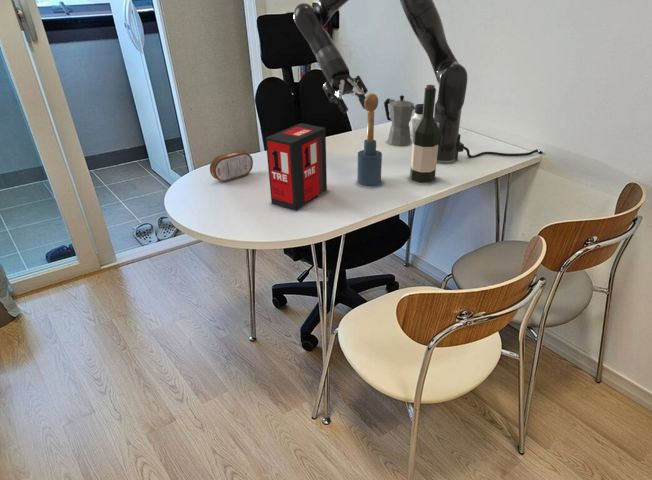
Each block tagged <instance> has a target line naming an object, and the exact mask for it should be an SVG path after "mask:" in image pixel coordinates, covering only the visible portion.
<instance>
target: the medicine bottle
mask: <svg viewBox="0 0 652 480" xmlns="http://www.w3.org/2000/svg"><path fill="white" fill-rule="evenodd" d="M423 104H424V102H422V103H421V102H420V103H417V104H415V105H414V106H415V109H414V114H413V115H412V117H411V128H410V137H413V131H414V127H415V126H416V125H417V123H418V122H419V120H420V119H421V117H422V115H423Z"/></svg>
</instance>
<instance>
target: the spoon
mask: <svg viewBox="0 0 652 480" xmlns="http://www.w3.org/2000/svg"><path fill="white" fill-rule="evenodd" d="M365 97H366V98H365V101H364V107H365V109H364V110H365V111H366V112H367V121H366V123H367V124H366V125H367V127H366V128H367V129H366V140H367V142H370V143H371V142H373V140H374V135H375V134H374V132H375V111H376V110H377V108H378V106H379V98H378V97H379V96H377V94H375V93H369V94H367V95H366V96H365Z"/></svg>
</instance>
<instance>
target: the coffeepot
mask: <svg viewBox="0 0 652 480" xmlns="http://www.w3.org/2000/svg"><path fill="white" fill-rule="evenodd" d="M399 99H400V100H395V99H391V98H389V97H388V98H386V100H385V101H384V102H383V106H384V111H385V116H386V120H387V121H388V122H391V125H390V129H389V133H388V137H387V143H388V144H389V145H392V146H395V147H406V146H409V145H410V144H411V143H412V138H411V137H412V136H411V126H410V122H411V121H412V117H413V111H415V106H416V105H415V104H414V103H413V102H411V101H408V100H405V96H404V95H403V94H401V95H400V96H399Z"/></svg>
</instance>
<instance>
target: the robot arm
mask: <svg viewBox="0 0 652 480" xmlns="http://www.w3.org/2000/svg"><path fill="white" fill-rule="evenodd" d="M349 1H350V0H318V2H317V3H316V4H315V5H314V7H313V6H312V5H311V4H309V3H306V2H302V3H298V5H296V7H295V8H294V10H293V21H294V23H295V25H296V27H297V29H298V30H299V32H300V33H301V35H302V36H303V38H304V39H305V40H306V42H307V43H308V45H309V47H310V50H311V51H312V54H313V55H314V57H315V59H316V61H317V64H318V66H319V68H320V70H321V72H322V74H323V75H324V77H325V79H326V81H325V82H324V84H323V86H322V89H323V91H324V93H325V95H326V97H327V99H328V102H329V103H330V104H332V103H335V104H336V105H337V107H338V109H339V111H340V112H341V113H342V114H347V112H348V111H349V108H348V106H347V104H346V103H345V101H344V99H343V96H345V95H350V96H354V97H356V98H357V99H358V102H359V103H360V105H361V106H362V109H363V110H366V109H365V107H364V101H365V98H366V97H367V96H366V94H367V93H368V92H369V90H368V88H367V87H366V85H365V83H364V80H362V78H361V76H360V75H356V76H355V77H352V76H351V74H350V69H349V67H348V65H347V64H346V61H345V60H344V58H343V56H342V54H341V51H339V49H338V48H337V46H336V45H335V42H334V41H333V39H332V37H331V35H330V34H329V33H328V31H327V30H325V26H326V25H327V23H328V22H329V21H330V20H331V18H332V17H333V15H334V14H335V13H336V12H337V11H338V10H339V9H340V8H342V7H343V6H344V5H345V4H347V3H348V2H349ZM399 2H400V5H401V7H402V9H403V12H404V15H405V17H406V19H407V21H408V24H409V25H410V27H411V29H412V31H413V33H414V35H415V37H416V38H417V40H418V42H419V44H420V45H421V47H422V48H423V50H424V51H425V53H426V55H427V57H428V59H429V62H430V64H431V67H432V70H433V72H434V76H435V79H436V82H437V83H438V94H437V100H436V101H435V104H434V115H433V118H434V120H435V122H436V124H437V126H438V129H439V131H440V134H439V143H438V153H437V162H436V164H437V163H438V164H451V163H454V162H457V161H458V159H459V153H461V152H462V153H463V152H464V151H466V156H467V158H469V159H473V158H474V159H475V158H478V157H480V156H484V155H492V156H500V157H501V156H502V157H525V156H531V155H534V154H536V153H539V154H540V155H542V154H544V152H543V150H541V151H540V152H538V149H537V148H536V149H534V150H531V151H529V152H521V153H506V152H496V151H482V152H479V153H477V154H475V155H472V154H471V152H470V149H469V148H468V147H467V146H465V144H464V143H463V142H462V141H461V136H462V135H461V134H460V126H461V119H462V109H463V106H464V104H465V100H466V93H467V88H468V72H467V69H466V68H465V66H463V65H462V64H461V63H460V62H459V61H458V59H457V58H456V56H455V54H454V53H453V51H452V49H451V47H450V45H449V43H448V40H447V37H446V34H445V33H446V32H445V29H444V25H443V21H442V19H441V15H440V13H439V11H438V8H437V6H436V4H435V2H434V0H399Z"/></svg>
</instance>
